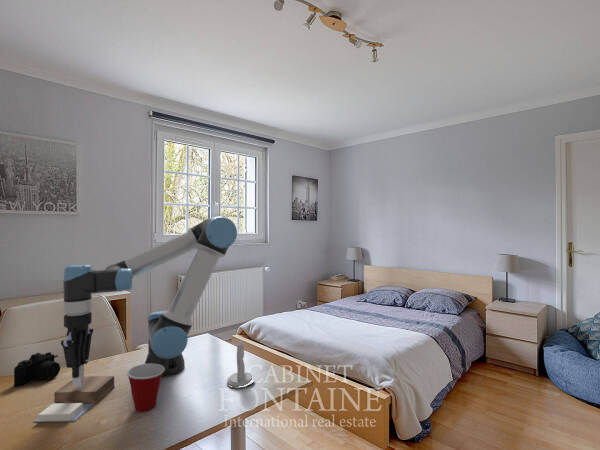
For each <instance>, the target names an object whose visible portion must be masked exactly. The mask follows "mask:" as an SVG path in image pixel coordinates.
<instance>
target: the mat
mask: <svg viewBox="0 0 600 450" xmlns="http://www.w3.org/2000/svg"><path fill="white" fill-rule="evenodd" d="M94 405H95V404H83V410H82V411H80V412H79V413H78V414H77V415H76V416H75V417H74V418H72V419H71V420H70V421H69V422H76V421H77V420H79V419H80V418H81V417H82V416H83V415H84V414H86V412H87V411H88V410H90V409H91V408H92V407H93V406H94ZM57 422H61V423H62V422H66V421H39V422H38V417H37V418H36V419H34V420H33V423H57Z"/></svg>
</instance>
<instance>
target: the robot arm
mask: <svg viewBox="0 0 600 450" xmlns="http://www.w3.org/2000/svg"><path fill="white" fill-rule="evenodd" d="M237 236H238V228H237V226H236V224H235V222H233V220H231V219H230V218H228V217H225V216H219V215H218V216H214V217H208V218H205V219H204V220H203V221H201V222H199V223H197V224H196V225H194V226H192V227H189V228H188V229H187V231H186V232H184V233H182V234H180V235H177V236H176V237H174V238H171V239H168V240H166V241H165V242H162V243H159V244H158V245H157V244H156V246H153V247H150V248H148V249H147V250H144V251H142V252H139V253H137V254H136V255H132V256H130V257H128V258H126V259H124V260H121V261H120V262H117V263H114V264H110V265H108V266H107V267H106V268H105V269H99V270H98V269H97V270H95V269H93V268H92V265H91V264H72V265H68V266H66V267H65V268H64V269H63V281H62V282H63V314H64V316H63V327H64V328H67V331H66V338H65V339H64V340H63V339H62V340H60V345H61V346H62V351H63V353H64V360H65V365H66V368H67V369H71V378H72V379H71V380H72V387H82V386H83V385H84V377H85V365H87V364H88V362H89V361H88V360H89V358H90V351H91V343H92V337H93V333H94V329H93V328H89V327H90V326H89V325H91V324H92V320H93V318H92V316H93V315H92V314H93V313H92V312H91V311H92V308H93V307H92V306H93V305H92V304H93V303H92V300H93V299H92V294H98V293H99V294H100V293H115V292H119V293H120V292H121V293H122V292H124V291H130V290H131V289H132V288H133V278H135V277H138V276H141V275H142V274H144V273H146V272H148V271H150V270H153V269H155V268H157V267H159V266H161V265H164V264H166V263H168V262H170V261H172V260H174V259H177V258H178V257H181V256H183V255H186V254H187V253H190V252H193V250H196V253H195V254H194V256H193V259H192V260H191V263H190V265H189V267H188V269H187V271H186V273H185V274H184V277H183V279H182V281H181V283H180V286H179V288H178V289H177V291H176V294H175V296H174V298H173V300H172V302H171V303H170V306H169V307H168V309H167V310H162V311H161V310H160V311H153V312H151V313H149V315H148V319H147V323H148V325H147V328H148V329H147V332H148V333H147V336H148V337H147V338H148V342H147V345H148V346H147V347H148V349H147V350H148V351H147V355H146V358H145V362H144V364H149V363H152V364H159V365H162V366H163V367H164V368H165V370H164V372H163V374H162V376H161V378H167V377H171V376H174V375H176V374H178V373H180V372H182V371H183V370H184V369H185V367H186V365H185V363H186V362H185V358H184V356H183V352H184V351H185V350H186V347H187V345H188V341H189V337H188V335H189V333H190V331H191V329H192V327H193V325H194V324H193V320H192V317H193V314H194V313H195V311H196V308H197V306H198V304H199V302H200V300H201V298H202V295H203V293H204V291H205V289H206V287H207V285H208V282H210V281H209V280H210V279H211V276H212V274H213V272H214V269H215V267H216V266H217V264H218V261H219V259H221V258H223V257H225V256H226V254H227V251H228V249H229V248H230V247H231V246H232V245H233V244H234V243H235V242H236V239H237V238H238V237H237Z"/></svg>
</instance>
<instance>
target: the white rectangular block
mask: <svg viewBox="0 0 600 450" xmlns="http://www.w3.org/2000/svg"><path fill="white" fill-rule="evenodd" d="M82 410H83V403H55V402H54V403H52V404H51V405H49V406H48V407H46V408H45V409H44V410H42V411H41V412H40V413H38V414H37V418H38V422H37V423H40V422H39V421H65V422H71V421H70V420H71V419H72V418H74V417H75V416H76V415H77V414H78V413H79V412H80V411H82Z"/></svg>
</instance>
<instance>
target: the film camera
mask: <svg viewBox="0 0 600 450" xmlns="http://www.w3.org/2000/svg"><path fill="white" fill-rule="evenodd" d="M57 357H59V355H58V354H56V355H54V354H53V353H52V352H51V351H48V352H45V353H41V352H36V353H35V354H31V355H30V358H29V359H24V360H21V361H19V362H18V363H17V365H16V366H15V367H14V369H13V379H14V380H13V386H15V387H14V388H19V386H21V387H23V386H25V384H26V385H28V384H29V383H32V382H34V381H40V380H52V379H55V378H56V377H57V376H58V375H59V373H60V371H61V366H60V363H59V362H56V361H55V359H56V358H57Z"/></svg>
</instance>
